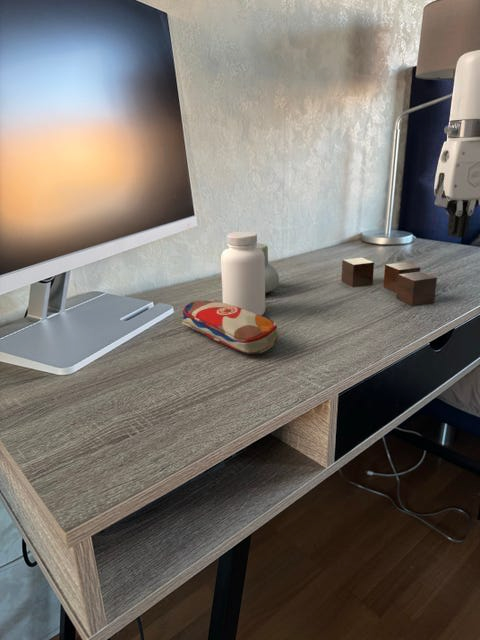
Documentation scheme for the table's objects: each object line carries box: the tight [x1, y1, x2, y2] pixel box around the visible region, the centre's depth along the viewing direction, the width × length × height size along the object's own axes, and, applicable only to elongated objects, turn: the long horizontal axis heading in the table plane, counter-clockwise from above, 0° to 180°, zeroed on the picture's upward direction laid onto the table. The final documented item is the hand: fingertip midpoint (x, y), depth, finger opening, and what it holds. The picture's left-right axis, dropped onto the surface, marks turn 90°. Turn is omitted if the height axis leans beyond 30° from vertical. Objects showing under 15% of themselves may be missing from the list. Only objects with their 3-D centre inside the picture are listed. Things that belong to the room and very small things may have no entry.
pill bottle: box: [220, 231, 266, 316], centre depth 81 cm, size 8×8×15 cm
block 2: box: [395, 271, 438, 307], centre depth 86 cm, size 5×5×5 cm
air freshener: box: [256, 242, 280, 294], centre depth 95 cm, size 11×8×10 cm
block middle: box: [382, 261, 421, 294], centre depth 93 cm, size 5×5×5 cm
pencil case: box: [181, 299, 279, 355], centre depth 73 cm, size 11×20×5 cm, turn 25°
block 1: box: [340, 257, 375, 288], centre depth 98 cm, size 5×5×5 cm
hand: (456, 236), depth 85 cm, fingers closed
